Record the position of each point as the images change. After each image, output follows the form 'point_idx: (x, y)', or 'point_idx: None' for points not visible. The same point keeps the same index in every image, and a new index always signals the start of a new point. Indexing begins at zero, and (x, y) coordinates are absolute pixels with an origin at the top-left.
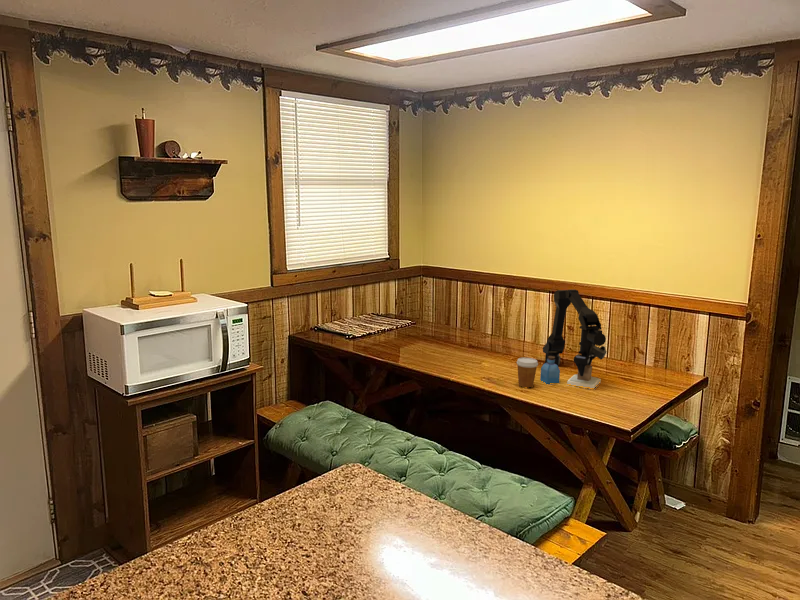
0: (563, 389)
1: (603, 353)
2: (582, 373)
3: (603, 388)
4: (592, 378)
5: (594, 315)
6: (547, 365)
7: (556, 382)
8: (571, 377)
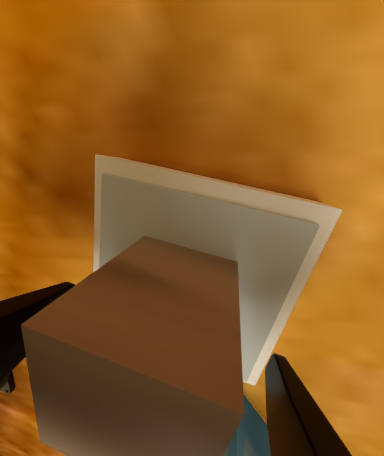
0: (352, 385)
1: None
2: (309, 407)
3: (242, 121)
4: (139, 225)
5: None
6: None
7: (245, 406)
8: None
